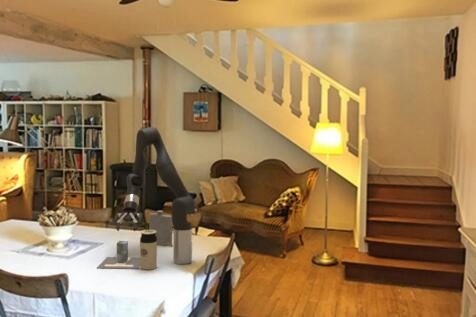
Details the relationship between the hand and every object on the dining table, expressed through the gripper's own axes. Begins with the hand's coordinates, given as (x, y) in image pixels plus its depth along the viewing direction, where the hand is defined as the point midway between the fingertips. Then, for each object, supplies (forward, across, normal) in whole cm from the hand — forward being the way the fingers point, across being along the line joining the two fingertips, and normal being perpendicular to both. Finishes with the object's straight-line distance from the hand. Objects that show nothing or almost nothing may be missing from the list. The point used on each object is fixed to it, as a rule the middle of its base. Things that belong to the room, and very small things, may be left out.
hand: (126, 230), depth 223 cm
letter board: (+16, 0, +5) cm, 17 cm away
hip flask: (-8, +13, +30) cm, 33 cm away
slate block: (+15, 0, +5) cm, 16 cm away
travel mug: (+21, +14, +1) cm, 25 cm away
